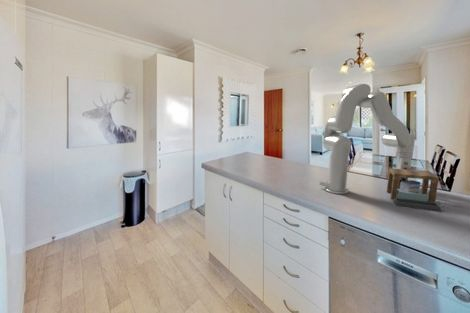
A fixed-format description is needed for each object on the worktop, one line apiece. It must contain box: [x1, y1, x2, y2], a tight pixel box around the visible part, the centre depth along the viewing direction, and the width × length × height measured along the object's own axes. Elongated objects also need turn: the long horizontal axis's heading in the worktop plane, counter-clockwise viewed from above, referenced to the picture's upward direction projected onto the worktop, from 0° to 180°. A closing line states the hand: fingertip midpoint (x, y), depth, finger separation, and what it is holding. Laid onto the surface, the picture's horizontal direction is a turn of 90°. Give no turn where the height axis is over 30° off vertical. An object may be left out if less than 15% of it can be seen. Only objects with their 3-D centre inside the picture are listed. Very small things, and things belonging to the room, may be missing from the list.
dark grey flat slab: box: [393, 198, 442, 212], centre depth 101 cm, size 16×6×2 cm, turn 64°
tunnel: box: [386, 167, 440, 203], centre depth 110 cm, size 17×13×14 cm
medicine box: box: [399, 179, 421, 193], centre depth 111 cm, size 8×4×9 cm, turn 105°
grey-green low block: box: [396, 177, 429, 202], centre depth 116 cm, size 12×25×7 cm, turn 154°
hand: (400, 184), depth 127 cm, fingers open, 6 cm apart
